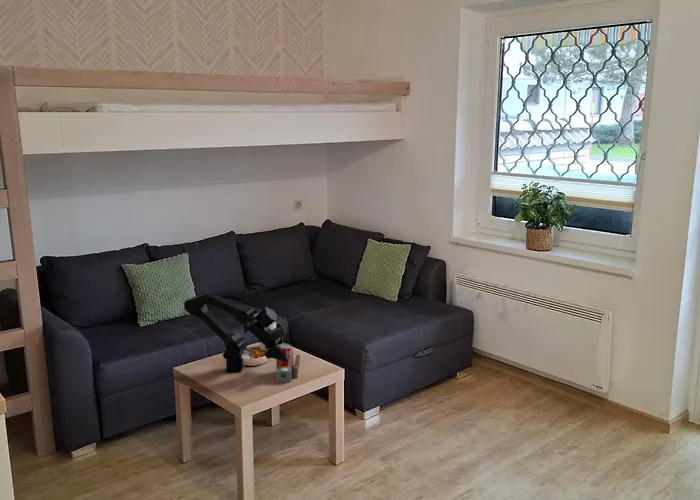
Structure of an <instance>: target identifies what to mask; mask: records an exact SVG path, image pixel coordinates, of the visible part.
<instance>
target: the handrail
mask: <svg viewBox="0 0 700 500" xmlns="http://www.w3.org/2000/svg"><path fill="white" fill-rule="evenodd" d="M300 359H301V355H300V354H296V355H295V360H294V363H293V372H294V375H293V376H294V379H298V377H299V370H300Z"/></svg>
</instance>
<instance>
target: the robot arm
mask: <svg viewBox="0 0 700 500" xmlns="http://www.w3.org/2000/svg"><path fill="white" fill-rule="evenodd" d="M207 305H210V306H213V307H215V308H216V309H218V310H221V311H223V312H225V313H227V314H229V315H231V316H232V317H233V319H234V320H235V321H236V322H237V323H239V324H242V325H244V326H243V333H244V334H246V333H248V331H249V332H250V333H251V334H252V336H254V337H255V338H256V339H257V342H258V344H259V343H260V342H261V343H262V344H264V345H265V349H266V351H264V357H265V358H266V359H268V360H269V359H273V360H276V359H278V360H281V361H284V362H287V361H288V359H287V358H286V357H285V355H284V354H283V353H282V352H281V346H280V347H279V345H280V344H284V338H283V337H284V336H285V335H287V329H286V326H285V325H284V324H283V323H281V322H278V323H276V328H274V329H273V330H271V329H270V328H268V329H267V327H269V326H270V325H271V324H272V323H273V322H276V321H277V320H278V314H277V313H276V311H274V309H272V308H269V307H268V306H265V307H264V308H263V309H261V311H259V310H255V309H254V308H253V307H251V306H248V305H244V304H236V303H233V302H232V301H231V300H228V299H227V298H225V297H222V296H219V295H217V294H215V292H213V291H209V292H206V293H204V294H203V295H200V296H199V295H195V296H193V297H191V298H189V299H187V300H185V301H184V303H183V309H184V311H186V313H188V314H189V315H191V316H192V317H195V318H198V319H200V320H201V321H202V322H203V323H204V324H205V325H206V326H207V327H208V328H209V329H210V330H211V331H212V332H213V333H214V334H215V335H216V336H217V337H218V338H219V339H220V340H222V342H223V344H224V348H225V349H226V350H225V351H224V352H223V353H222V356H223V359H224V360H225V363H226V364H225V367H226V369H225V373H241V372H242V371H243V369H244V358H243V355H242V354H244V352H245V351H246V350H247V348H248V342H247V340H246V337H244V336H242V334H241V333H240V332H236V333H233V332H232V331H231V330H229V329H228V328H227V327H226V326H225V325H224V324H223V323H222V322H221V321H220V320H219V319H218V318H217V317H216V316H215V315H214V314H213V313H212V312H211V311H210V310H209V309H208V306H207Z"/></svg>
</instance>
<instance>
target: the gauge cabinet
mask: <svg viewBox="0 0 700 500" xmlns="http://www.w3.org/2000/svg"><path fill="white" fill-rule="evenodd" d="M282 373H286V375H285V376H282ZM292 373H293V372H292V368H277V367H276V371H275V381H276V383H291V382H292V377H293V376H292V375H293V374H292Z"/></svg>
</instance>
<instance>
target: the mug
mask: <svg viewBox="0 0 700 500" xmlns="http://www.w3.org/2000/svg"><path fill="white" fill-rule="evenodd" d="M276 324H277V322H276V321H274V322H273V323H272V324H271V325H270V326H269V327H267V329H268V328H270V329H271V330H273V329H274V328H276ZM259 347H260V348H265V345H264V344H262V343H261V342H260V343H259V342H258V348H259ZM260 348H259V349H260Z"/></svg>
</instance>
